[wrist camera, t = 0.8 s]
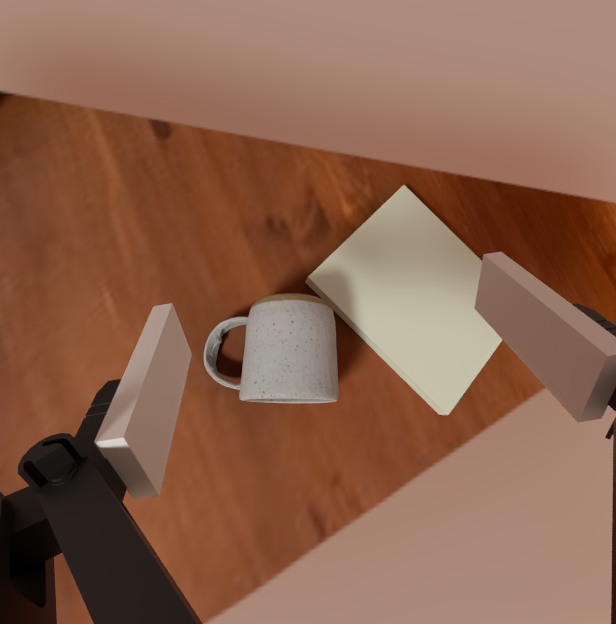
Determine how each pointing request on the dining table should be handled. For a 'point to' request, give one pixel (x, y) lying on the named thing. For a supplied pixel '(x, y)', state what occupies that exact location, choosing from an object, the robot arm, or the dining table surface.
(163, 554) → the dining table surface
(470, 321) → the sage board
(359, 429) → the dining table surface
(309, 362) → the ceramic mug
